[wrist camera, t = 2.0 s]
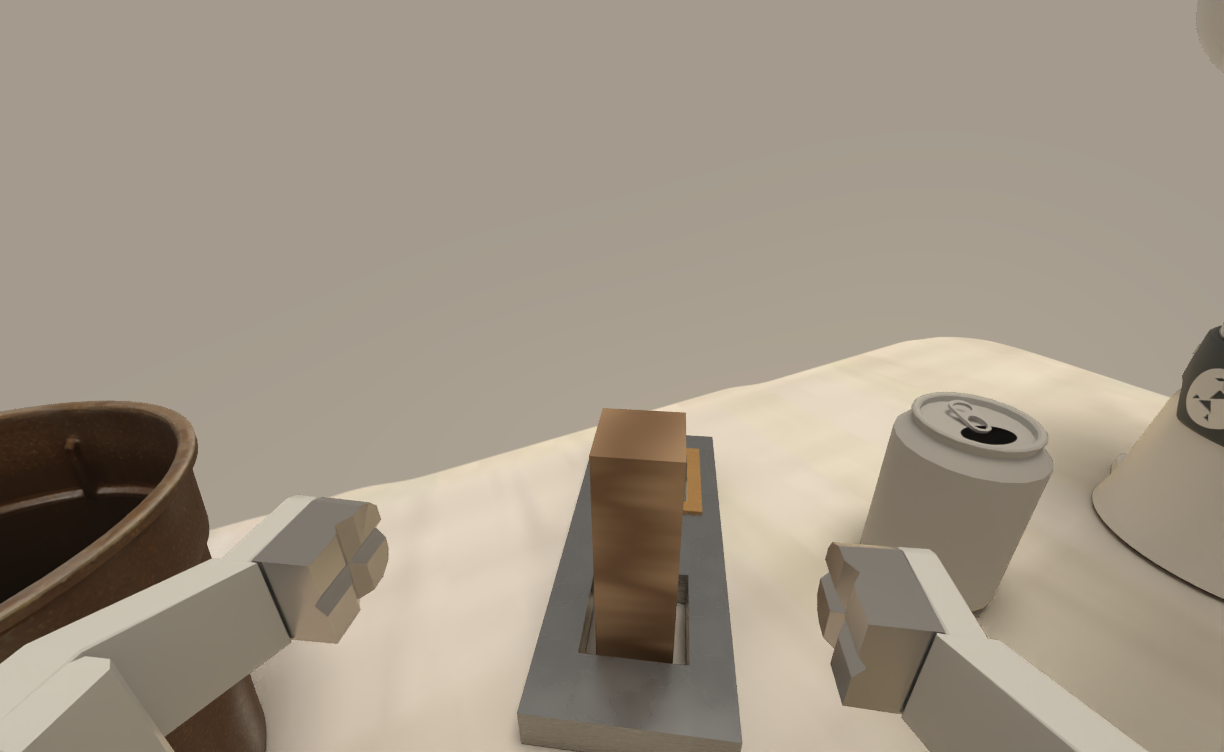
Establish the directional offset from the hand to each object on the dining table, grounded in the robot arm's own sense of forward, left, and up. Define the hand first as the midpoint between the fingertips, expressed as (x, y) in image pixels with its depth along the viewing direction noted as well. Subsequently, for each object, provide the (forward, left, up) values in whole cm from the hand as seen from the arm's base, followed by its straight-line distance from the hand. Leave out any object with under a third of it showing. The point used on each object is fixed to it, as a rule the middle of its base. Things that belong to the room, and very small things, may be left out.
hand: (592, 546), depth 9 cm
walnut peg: (0, -12, -19) cm, 23 cm away
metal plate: (0, -18, -19) cm, 27 cm away
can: (-18, -19, -20) cm, 33 cm away
